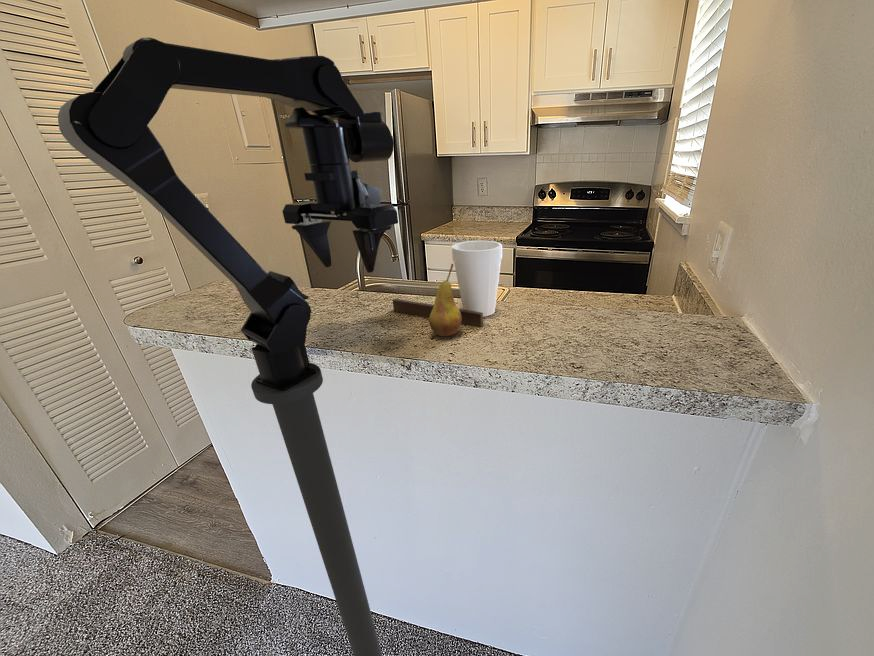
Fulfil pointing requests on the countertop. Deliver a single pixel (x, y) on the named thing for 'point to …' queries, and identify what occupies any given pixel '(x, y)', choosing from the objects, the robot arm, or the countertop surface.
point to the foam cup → (478, 274)
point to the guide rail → (426, 309)
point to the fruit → (445, 311)
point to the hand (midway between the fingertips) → (348, 269)
